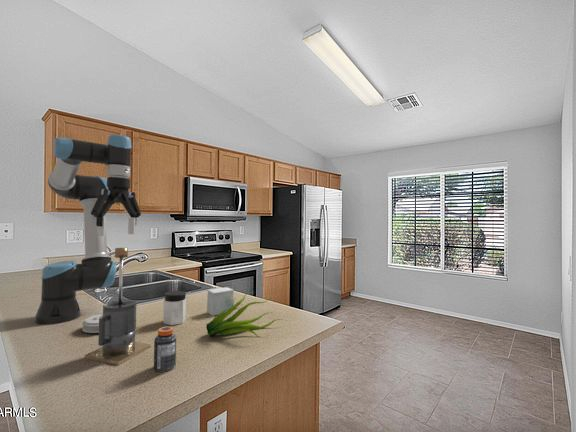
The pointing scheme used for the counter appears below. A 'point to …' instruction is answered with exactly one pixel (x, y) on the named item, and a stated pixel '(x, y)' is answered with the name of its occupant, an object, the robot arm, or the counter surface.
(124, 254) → the plunger
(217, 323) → the decorative plant
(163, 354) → the pill bottle
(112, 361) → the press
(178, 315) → the jar
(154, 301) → the counter surface
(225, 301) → the skincare box
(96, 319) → the white round disc
